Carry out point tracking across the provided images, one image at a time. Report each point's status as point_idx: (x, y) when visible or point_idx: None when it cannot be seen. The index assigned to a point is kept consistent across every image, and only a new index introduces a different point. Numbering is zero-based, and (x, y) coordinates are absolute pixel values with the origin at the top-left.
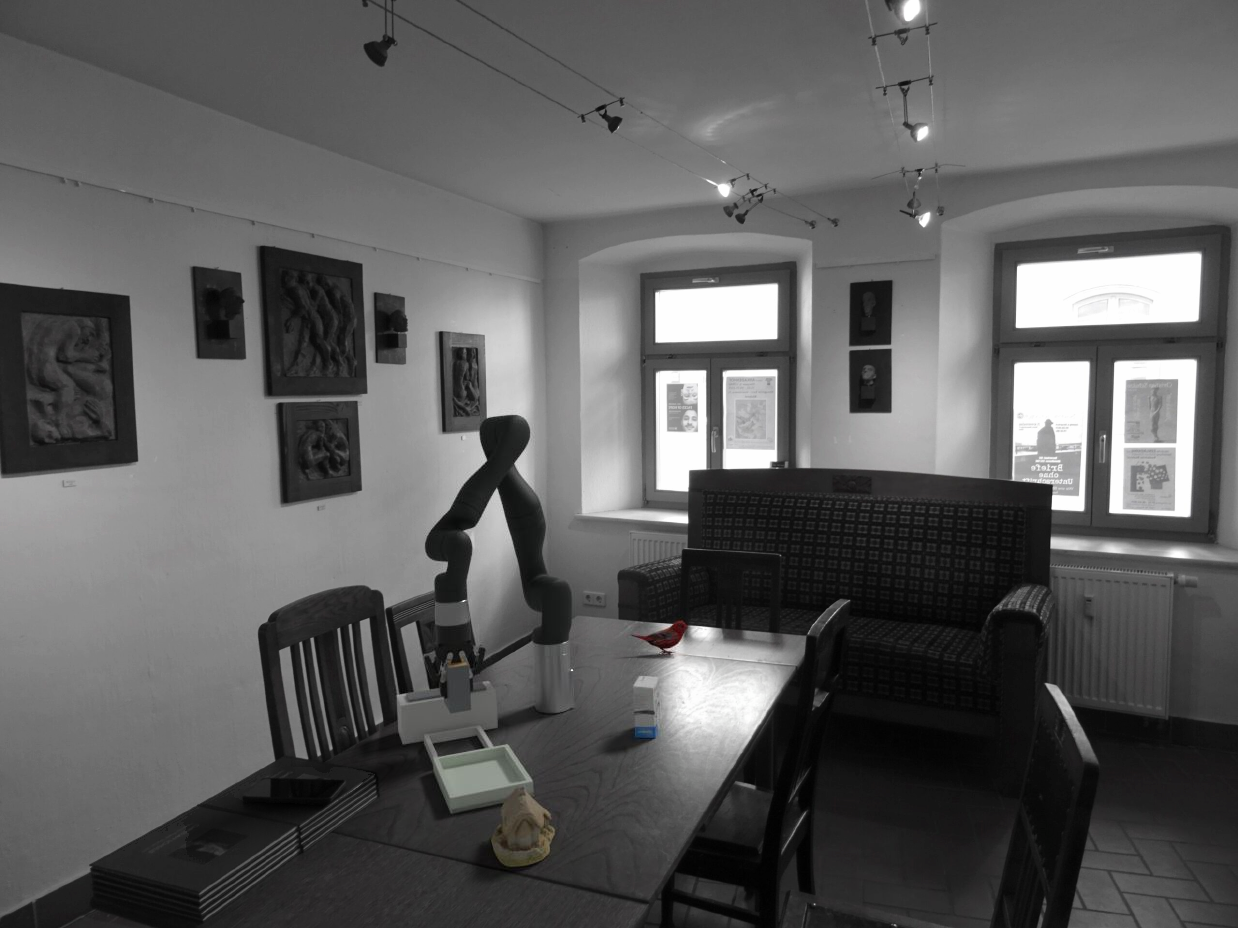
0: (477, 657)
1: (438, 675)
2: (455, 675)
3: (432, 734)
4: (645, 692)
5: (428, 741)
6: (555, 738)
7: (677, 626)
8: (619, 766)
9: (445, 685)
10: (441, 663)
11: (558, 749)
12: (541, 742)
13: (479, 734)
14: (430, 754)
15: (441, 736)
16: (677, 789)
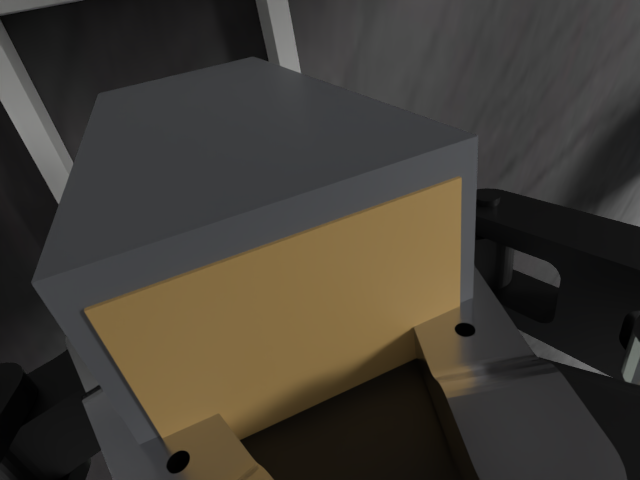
0: (609, 333)
1: (93, 443)
2: None
3: (8, 3)
4: None
5: (19, 113)
6: (501, 95)
7: None
8: (550, 284)
9: None
10: (104, 444)
11: (483, 181)
12: (459, 119)
13: (269, 36)
14: None
15: (67, 2)
16: (576, 360)
